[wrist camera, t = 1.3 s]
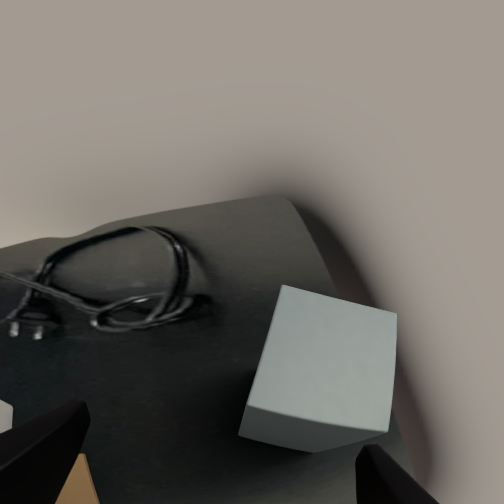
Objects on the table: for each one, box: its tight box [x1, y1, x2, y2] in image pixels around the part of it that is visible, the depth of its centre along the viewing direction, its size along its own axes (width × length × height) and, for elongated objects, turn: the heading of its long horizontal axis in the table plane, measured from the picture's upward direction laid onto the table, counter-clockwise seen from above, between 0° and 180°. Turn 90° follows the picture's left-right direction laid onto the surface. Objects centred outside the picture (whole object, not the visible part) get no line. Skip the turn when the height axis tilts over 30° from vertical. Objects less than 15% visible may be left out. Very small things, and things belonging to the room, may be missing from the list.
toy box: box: [238, 285, 397, 453], centre depth 17 cm, size 6×6×12 cm
